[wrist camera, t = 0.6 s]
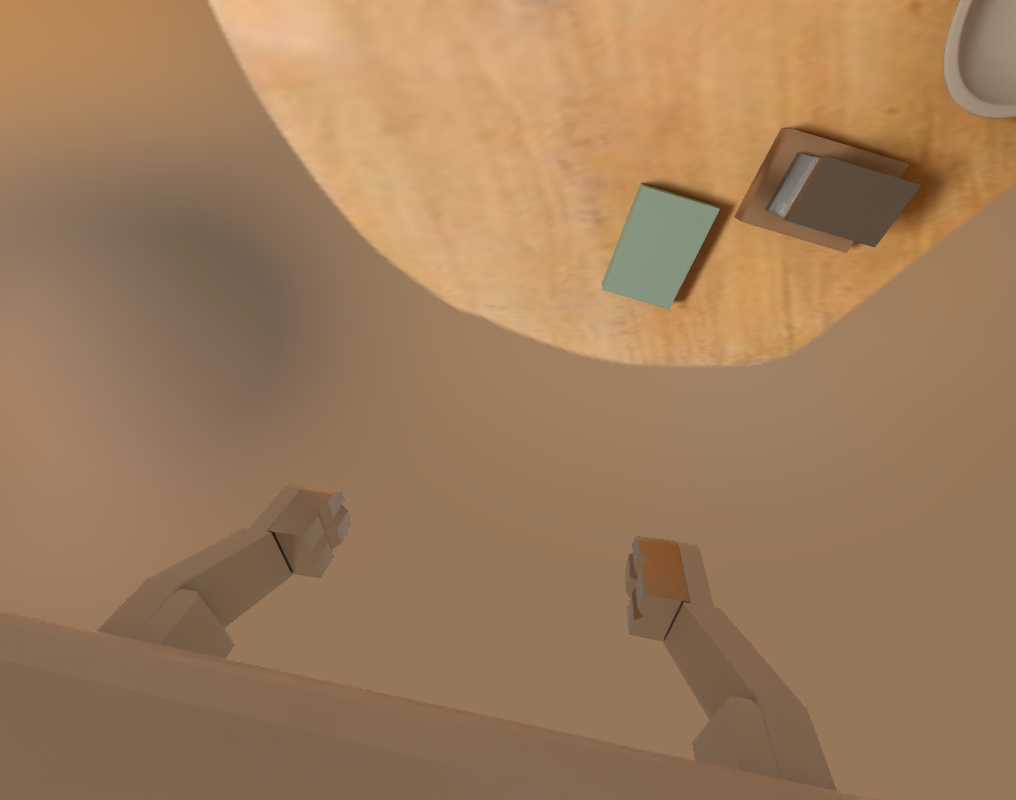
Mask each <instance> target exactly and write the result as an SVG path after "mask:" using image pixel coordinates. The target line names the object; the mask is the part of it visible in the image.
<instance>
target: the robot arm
mask: <svg viewBox="0 0 1016 800" xmlns="http://www.w3.org/2000/svg"><path fill="white" fill-rule="evenodd" d="M344 501H345V499H344V496H343V493H342V492H339V491H333V490H328V489H323V488H317V487H312V486H306V485H300V484H294V483H289V484H288V485H286V486H284V487H283V488H282V490H281V491H280V492H279V493H278V494H277V496H276V497H275V498H274V499H273V500H272V501H271V503H270V504H269V505H268V506H267V507H266V508H265V510H264V511H263V512H262V513H261V514H260V516H259V517H258V518H257V519H256V520H255V521H254V523H253V524H252V525H251V526H250V528H242V529H241V530H239V531H237V532H235V533H233V534H231V535H229V536H227V537H225V538H224V539H222V540H220V541H218V542H216V543H214V544H212V545H210V546H209V547H207V548H205V549H203V550H201V551H199V552H197V553H195V554H194V555H192V556H190V557H188V558H186V559H184V560H182V561H180V562H179V563H177V564H175V565H173V566H171V567H169V568H168V569H166V570H164V571H162V572H160V573H158V574H156V575H154V576H152V577H151V578H149V579H147V580H146V581H145V582H144V583H143V584H142V585H141V586H140V587H139V588H138V589H137V590H136V591H135V592H134V593H133V594H132V595H131V596H130V597H129V598H128V599H127V600H126V601H125V602H124V603H123V604H122V605H121V606H120V607H119V608H118V609H117V610H116V611H115V612H114V614H112V616H111V617H110V618H109V619H108V620H107V621H106V622H105V623H104V624H103V625H102V626H101V627H100V628H99V629H98V630H97V631H95V630H90V629H85V628H81V627H76V626H71V625H67V624H62V623H58V622H52V621H48V620H44V619H39V618H34V617H30V616H25V615H20V614H16V613H11V612H6V611H1V610H0V800H876V799H871V798H867V797H862V796H857V795H853V794H848V793H843V792H839V791H837V790H836V787H835V785H834V782H833V779H832V777H831V774H830V771H829V768H828V765H827V762H826V760H825V757H824V754H823V751H822V749H821V747H820V743H819V740H818V738H817V735H816V732H815V729H814V727H813V724H812V721H811V718H810V715H809V713H808V710H807V708H806V707H805V706H804V705H803V704H802V703H801V701H800V700H799V699H798V698H797V697H796V696H795V694H794V693H793V692H792V691H791V690H790V689H789V687H788V686H787V685H786V684H785V683H784V682H783V680H782V679H781V678H780V677H779V676H778V675H777V673H776V672H775V671H774V670H773V669H772V668H771V666H770V665H769V664H768V663H767V662H766V661H765V659H764V658H763V657H762V656H761V655H760V654H759V653H758V651H757V650H756V649H755V648H754V647H753V646H752V644H751V643H750V642H749V641H748V640H747V638H746V637H745V636H744V635H743V634H742V633H741V632H740V630H739V629H738V628H737V627H736V626H735V625H734V623H733V622H732V621H731V620H730V619H729V618H728V616H727V615H726V614H725V613H724V612H723V611H722V609H720V608H716V607H714V605H713V600H712V596H711V593H710V588H709V585H708V580H707V576H706V573H705V568H704V565H703V561H702V557H701V553H700V549H699V548H698V546H697V545H694V544H687V543H680V542H675V541H670V540H663V539H655V538H648V537H641V536H635V538H634V540H633V543H632V550H633V553H631V554H629V556H628V559H627V563H626V571H625V586H626V592H627V593H628V595H629V596H630V600H629V603H628V606H627V615H628V629H629V634H630V635H635V636H640V637H645V638H650V639H654V640H659V641H664V645H665V647H666V648H667V650H668V652H669V653H670V655H671V657H672V658H673V660H674V662H675V663H676V665H677V667H678V668H679V670H680V672H681V673H682V675H683V676H684V678H685V680H686V681H687V683H688V685H689V687H690V688H691V690H692V692H693V694H694V695H695V697H696V699H697V700H698V702H699V704H700V705H701V707H702V709H703V710H704V712H705V714H706V715H707V717H708V719H709V720H710V721H709V722H708V723H707V725H706V726H705V727H704V728H703V730H702V731H701V732H700V733H699V734H698V736H697V737H696V738H695V739H694V740H693V742H692V744H693V751H694V758H695V760H691V759H686V758H682V757H677V756H673V755H668V754H663V753H658V752H654V751H650V750H645V749H640V748H635V747H631V746H627V745H622V744H617V743H613V742H608V741H603V740H599V739H594V738H589V737H585V736H580V735H575V734H571V733H566V732H562V731H557V730H552V729H548V728H543V727H539V726H534V725H530V724H525V723H520V722H516V721H511V720H506V719H502V718H497V717H493V716H488V715H483V714H479V713H474V712H469V711H465V710H460V709H456V708H451V707H446V706H442V705H437V704H433V703H428V702H423V701H419V700H414V699H409V698H405V697H400V696H395V695H391V694H386V693H382V692H377V691H372V690H368V689H363V688H358V687H354V686H349V685H345V684H340V683H335V682H330V681H326V680H322V679H317V678H312V677H308V676H303V675H298V674H293V673H289V672H285V671H280V670H275V669H270V668H266V667H261V666H257V665H252V664H247V663H243V662H238V661H234V660H228V659H226V657H227V656H228V654H229V653H230V651H231V650H232V648H233V647H234V641H233V639H232V638H231V636H230V635H229V634H228V632H227V631H226V630H225V627H226V626H228V625H229V624H230V623H232V622H233V621H234V620H235V619H237V618H238V617H239V616H240V615H242V614H243V613H244V612H246V611H247V610H248V609H250V608H251V607H252V606H253V605H255V604H256V603H257V602H259V601H260V600H261V599H263V598H264V597H265V596H266V595H267V594H269V593H270V592H272V591H273V590H274V589H275V588H276V587H278V586H279V585H281V584H282V583H283V582H284V581H286V580H287V579H288V578H290V577H291V576H292V574H297V575H305V576H311V577H318V578H321V577H322V575H323V574H324V572H325V570H326V569H327V567H328V565H329V564H330V562H331V560H332V559H333V557H334V556H333V548H335V547H336V546H338V545H340V544H341V543H342V542H343V540H344V538H345V536H346V535H347V531H348V528H349V525H350V515H349V512H348V510H347V509H346V508H345V507H344V506H343V505H342V504H343V502H344Z"/></svg>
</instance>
